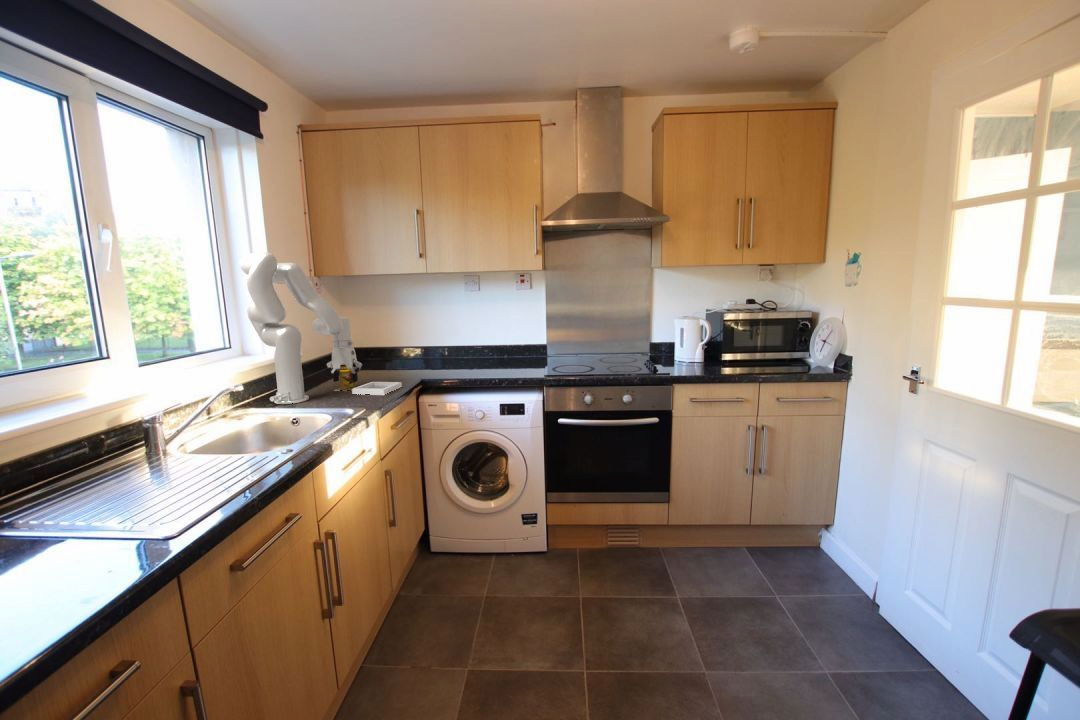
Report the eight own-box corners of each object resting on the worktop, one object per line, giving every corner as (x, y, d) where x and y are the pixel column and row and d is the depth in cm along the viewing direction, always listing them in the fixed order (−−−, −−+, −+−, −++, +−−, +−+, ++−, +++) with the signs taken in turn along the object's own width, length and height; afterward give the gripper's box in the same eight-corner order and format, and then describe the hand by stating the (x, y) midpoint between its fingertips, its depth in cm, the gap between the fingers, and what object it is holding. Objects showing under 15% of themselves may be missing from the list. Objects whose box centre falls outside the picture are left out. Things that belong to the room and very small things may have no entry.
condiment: (351, 391, 207) (349, 364, 206) (333, 391, 208) (331, 364, 207) (358, 387, 215) (356, 362, 213) (341, 387, 215) (339, 362, 214)
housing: (384, 395, 197) (383, 389, 197) (352, 394, 200) (352, 388, 200) (401, 387, 213) (401, 382, 212) (372, 387, 216) (371, 381, 215)
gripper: (364, 343, 211) (367, 380, 213) (330, 343, 214) (333, 379, 216) (355, 345, 203) (358, 383, 206) (320, 345, 206) (323, 382, 209)
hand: (345, 381), depth 211 cm, fingers open, 9 cm apart
